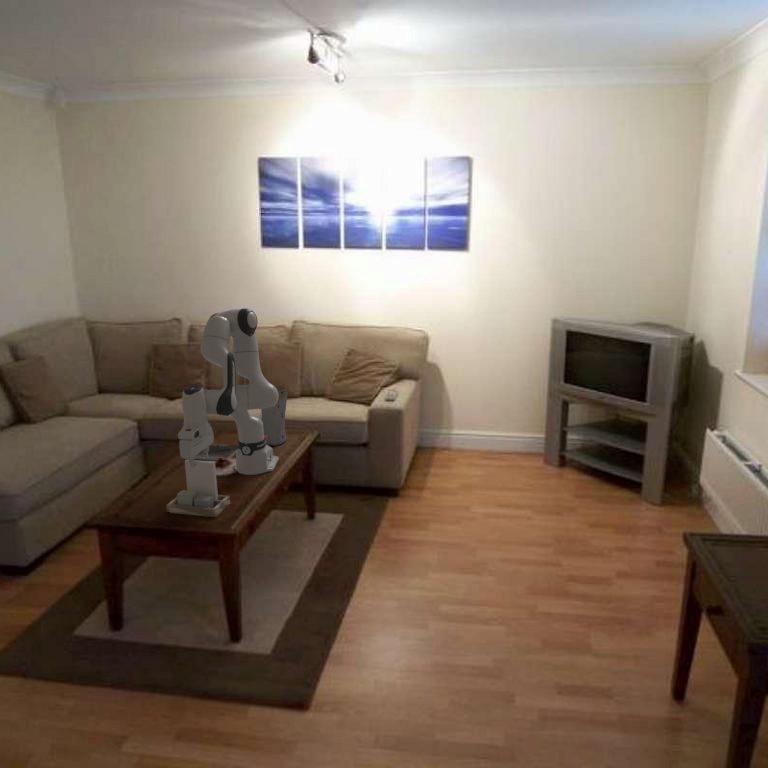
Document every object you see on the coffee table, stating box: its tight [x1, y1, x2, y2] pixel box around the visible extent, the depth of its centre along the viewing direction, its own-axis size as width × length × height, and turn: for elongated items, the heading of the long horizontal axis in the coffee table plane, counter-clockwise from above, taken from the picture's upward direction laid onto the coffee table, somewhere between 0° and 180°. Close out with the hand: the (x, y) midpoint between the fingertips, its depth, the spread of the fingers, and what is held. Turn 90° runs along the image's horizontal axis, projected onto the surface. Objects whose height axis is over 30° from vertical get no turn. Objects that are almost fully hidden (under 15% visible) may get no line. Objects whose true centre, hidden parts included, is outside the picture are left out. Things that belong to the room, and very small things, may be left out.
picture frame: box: [194, 443, 239, 461], centre depth 317 cm, size 16×2×22 cm
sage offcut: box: [176, 489, 197, 507], centre depth 258 cm, size 4×6×7 cm, turn 77°
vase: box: [260, 384, 288, 447], centre depth 327 cm, size 13×14×28 cm
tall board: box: [184, 459, 219, 500], centre depth 261 cm, size 2×12×18 cm, turn 77°
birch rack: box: [165, 494, 231, 518], centre depth 259 cm, size 13×20×3 cm, turn 77°
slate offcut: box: [194, 495, 214, 508], centre depth 256 cm, size 4×6×6 cm, turn 77°
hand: (199, 462), depth 258 cm, fingers open, 8 cm apart
